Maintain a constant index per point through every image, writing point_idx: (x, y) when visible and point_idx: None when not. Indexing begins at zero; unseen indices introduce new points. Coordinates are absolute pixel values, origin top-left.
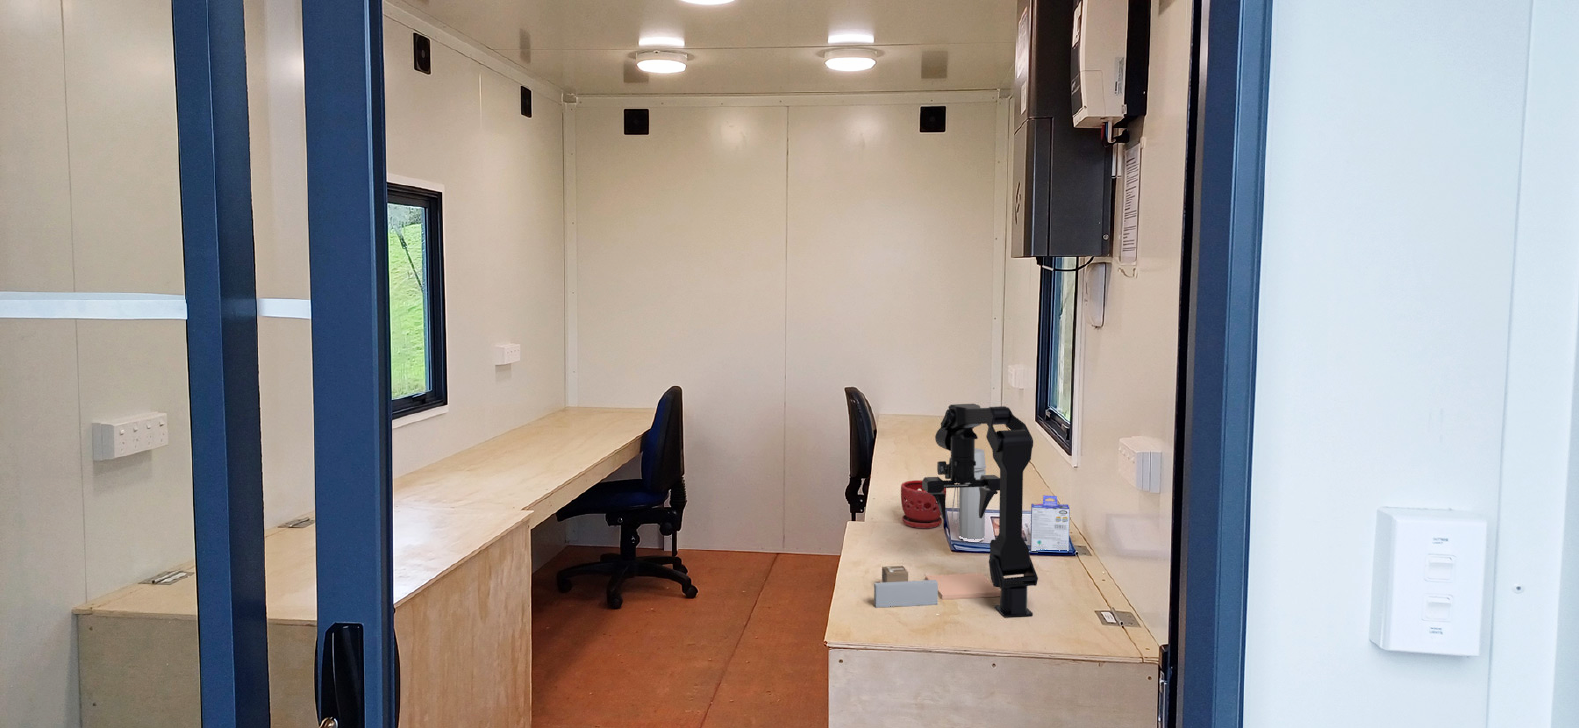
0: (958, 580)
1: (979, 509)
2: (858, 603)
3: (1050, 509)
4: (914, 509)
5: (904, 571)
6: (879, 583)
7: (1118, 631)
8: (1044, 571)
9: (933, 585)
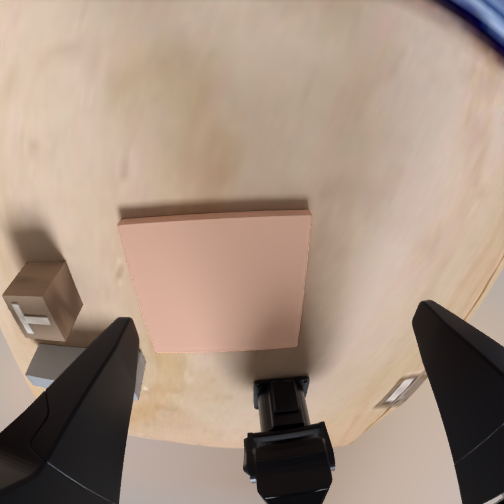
0: (213, 274)
1: (449, 343)
2: (17, 332)
3: None
4: None
5: (56, 334)
6: (33, 378)
7: (373, 417)
8: (475, 194)
9: None
